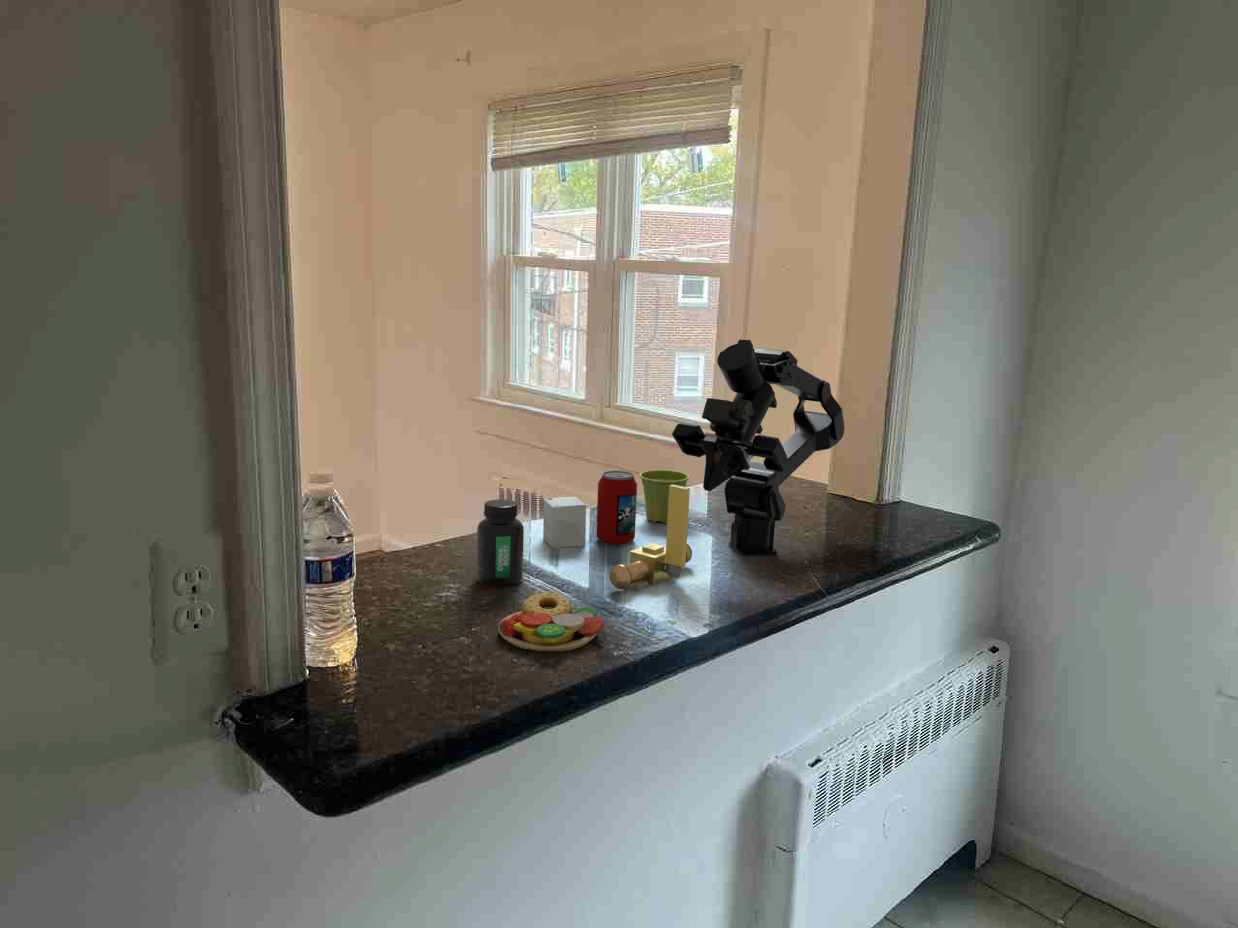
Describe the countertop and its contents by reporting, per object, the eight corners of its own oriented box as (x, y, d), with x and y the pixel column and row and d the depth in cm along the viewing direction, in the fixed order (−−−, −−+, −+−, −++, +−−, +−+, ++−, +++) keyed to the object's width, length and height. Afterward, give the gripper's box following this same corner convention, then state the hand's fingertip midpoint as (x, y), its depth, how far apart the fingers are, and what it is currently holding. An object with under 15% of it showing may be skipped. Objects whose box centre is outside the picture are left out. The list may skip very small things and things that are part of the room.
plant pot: (654, 528, 165) (656, 482, 163) (628, 515, 173) (630, 471, 171) (696, 523, 170) (699, 478, 168) (669, 510, 178) (671, 468, 176)
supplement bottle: (511, 590, 131) (512, 511, 128) (469, 584, 133) (469, 505, 130) (529, 576, 137) (531, 500, 134) (488, 570, 139) (489, 495, 136)
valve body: (672, 561, 147) (674, 531, 146) (699, 568, 144) (701, 538, 143) (603, 588, 133) (604, 556, 132) (632, 597, 130) (633, 564, 129)
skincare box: (585, 546, 153) (587, 504, 151) (551, 549, 151) (552, 506, 149) (575, 536, 159) (576, 495, 157) (542, 538, 156) (542, 497, 155)
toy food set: (544, 608, 125) (545, 586, 125) (622, 633, 118) (623, 609, 117) (477, 637, 114) (477, 613, 114) (557, 666, 107) (558, 641, 106)
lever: (670, 573, 138) (675, 483, 135) (686, 577, 136) (692, 487, 133) (662, 576, 136) (666, 486, 133) (678, 581, 134) (683, 489, 131)
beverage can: (630, 548, 153) (633, 480, 150) (592, 544, 154) (594, 476, 151) (637, 537, 159) (640, 471, 157) (600, 534, 160) (603, 468, 158)
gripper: (681, 373, 145) (637, 449, 139) (784, 385, 134) (742, 468, 128) (704, 416, 153) (664, 490, 147) (804, 431, 142) (765, 511, 136)
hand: (706, 489), depth 139 cm, fingers closed
